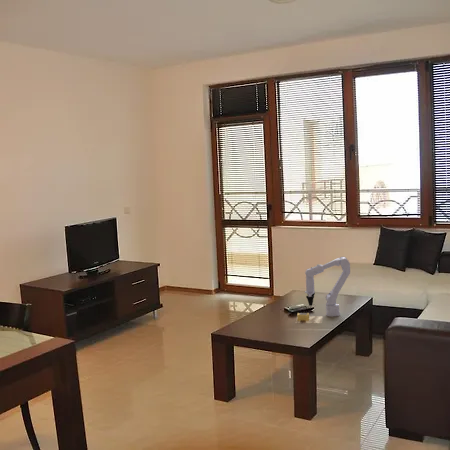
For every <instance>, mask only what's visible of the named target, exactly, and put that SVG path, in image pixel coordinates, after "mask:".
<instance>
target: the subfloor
mask: <svg viewBox="0 0 450 450" xmlns="http://www.w3.org/2000/svg"><path fill="white" fill-rule="evenodd" d="M322 323H323V315H321V316H319V315H317V316H314V315H313V316H311V315H309V321H297V318H296V320H295V322H294V324H300V325H301V324H302V325H303V324H304V325H305V324H322Z"/></svg>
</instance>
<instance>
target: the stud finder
mask: <svg viewBox="0 0 450 450" xmlns="http://www.w3.org/2000/svg"><path fill="white" fill-rule="evenodd" d="M309 316H310V313H309V312H297V316H296V319H297V321H309Z"/></svg>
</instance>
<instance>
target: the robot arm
mask: <svg viewBox="0 0 450 450" xmlns="http://www.w3.org/2000/svg"><path fill="white" fill-rule="evenodd" d="M334 266H335V267H341V270H342V272H341V273H340V275H339V277H338V279H337V281H336V283H335V285H334V286H333V287H332V289H331V290H330V291H329V293H328V294H326V296H325V300H326V303H325V313H326V314H325V315H326V316H328V317H340V314H341V313H340V304H337V298H338V296H339V293H340V292H341V290H342V287H343V286H344V285H345V282H346V281H347V279H348V278H349V276H350V274H351V263H350V261H349V259H348V258H347V257H346V256H340V257H337V258H335V259H333V260H331V261H328V262H326V263H324V264H319V263H318V264H316V266H315V265H314V266H313V267H310V268H307V269H305V272H304V273H305V288H306V289H305V291H304V294H305V293H306V295H305V297H306V299H307V302H308V306H309V307H311V306H313V303H314V298H315V295H316V294H315V293H316V291H315V279H314V277H315V276H317V275H319V274H321V273H324V272H325V270H326V269H328V268H332V267H334Z"/></svg>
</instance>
